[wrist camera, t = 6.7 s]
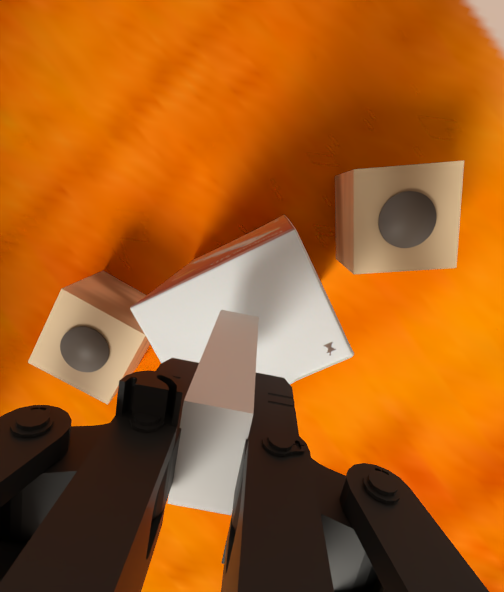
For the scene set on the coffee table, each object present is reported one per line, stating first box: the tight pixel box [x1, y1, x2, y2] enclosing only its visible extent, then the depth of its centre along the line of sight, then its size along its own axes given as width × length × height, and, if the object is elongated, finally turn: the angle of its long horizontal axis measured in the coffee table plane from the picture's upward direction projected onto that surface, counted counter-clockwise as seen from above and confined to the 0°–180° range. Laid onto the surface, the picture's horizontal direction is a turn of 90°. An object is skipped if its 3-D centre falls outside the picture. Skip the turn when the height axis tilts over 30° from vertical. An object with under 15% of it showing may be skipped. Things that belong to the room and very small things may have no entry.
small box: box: [130, 215, 354, 384], centre depth 22 cm, size 8×6×13 cm
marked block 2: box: [335, 161, 464, 274], centre depth 23 cm, size 6×6×6 cm
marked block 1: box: [28, 271, 150, 404], centre depth 26 cm, size 6×6×6 cm
